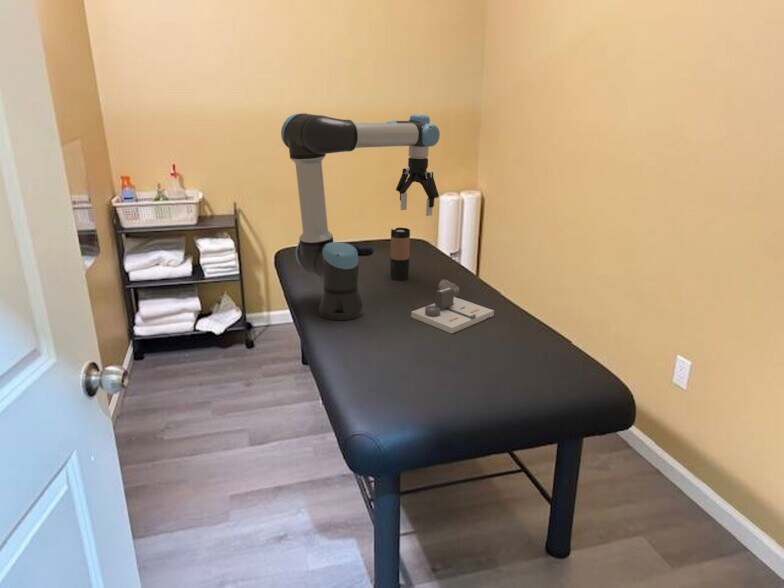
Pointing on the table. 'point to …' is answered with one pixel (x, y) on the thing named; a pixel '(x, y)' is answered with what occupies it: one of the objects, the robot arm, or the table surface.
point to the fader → (444, 298)
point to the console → (453, 315)
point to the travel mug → (400, 253)
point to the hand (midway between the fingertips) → (416, 212)
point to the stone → (446, 283)
